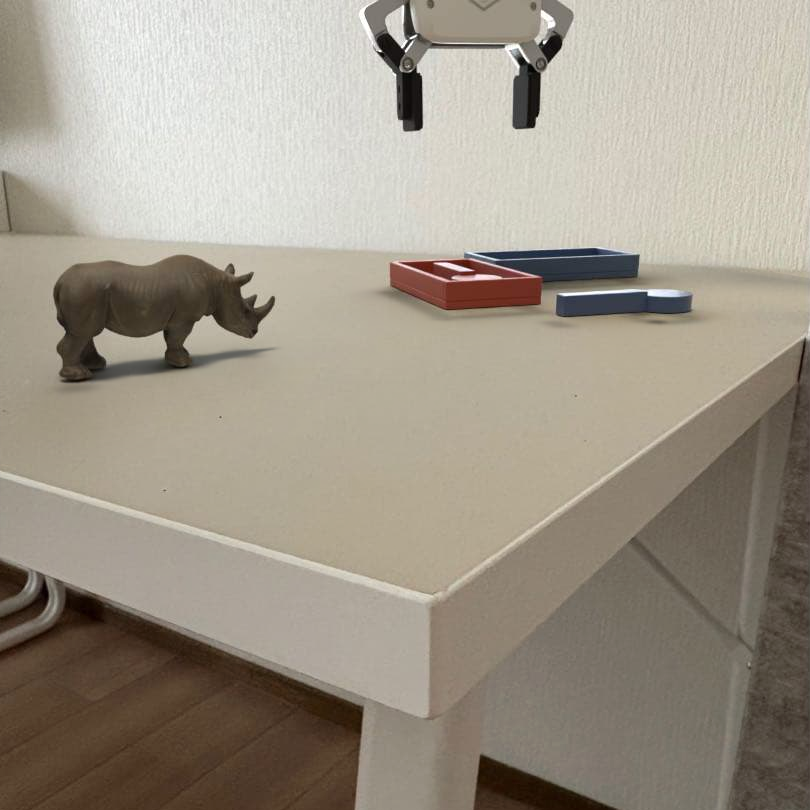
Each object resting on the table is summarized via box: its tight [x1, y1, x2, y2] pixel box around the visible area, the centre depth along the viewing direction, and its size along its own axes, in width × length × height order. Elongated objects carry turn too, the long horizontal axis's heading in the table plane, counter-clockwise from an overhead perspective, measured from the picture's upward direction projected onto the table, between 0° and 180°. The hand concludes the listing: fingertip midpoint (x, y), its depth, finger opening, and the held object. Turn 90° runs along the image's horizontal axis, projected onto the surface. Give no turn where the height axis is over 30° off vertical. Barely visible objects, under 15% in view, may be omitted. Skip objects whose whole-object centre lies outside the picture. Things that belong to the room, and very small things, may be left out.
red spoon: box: [433, 262, 502, 281], centre depth 76 cm, size 11×4×2 cm, turn 18°
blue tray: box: [463, 246, 641, 283], centre depth 87 cm, size 15×8×2 cm, turn 108°
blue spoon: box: [555, 288, 694, 318], centre depth 67 cm, size 11×4×2 cm, turn 108°
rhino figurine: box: [52, 254, 276, 381], centre depth 51 cm, size 4×14×6 cm, turn 126°
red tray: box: [389, 258, 543, 310], centre depth 76 cm, size 15×8×2 cm, turn 18°
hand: (469, 129), depth 71 cm, fingers open, 9 cm apart
